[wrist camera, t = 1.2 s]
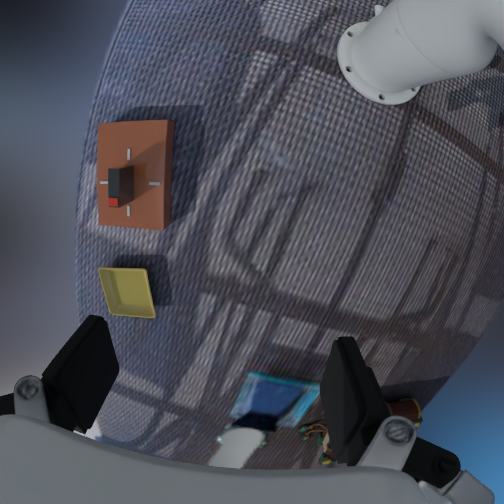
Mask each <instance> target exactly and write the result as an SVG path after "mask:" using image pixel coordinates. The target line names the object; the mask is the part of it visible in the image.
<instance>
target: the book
mask: <svg viewBox="0 0 504 504" xmlns="http://www.w3.org/2000/svg"><path fill="white" fill-rule="evenodd" d="M386 404H387V406H388V409H389V411H390V414H391V416H394V415H397V416H404V417H406V418H408V419H410V420H411V421H412V422H413V423H414V424H415V426H416V429H417V427H418V426H419V425H420V424H421V422H422V421H423V420H422V417H421V410H420V407H419V405H418V403H417V401H416V400H414V399H413V397H410V398H404V399H400V400H399V401H398V402H393V403H387V402H386ZM315 425H319V426H322V427H323V428H324V429H325V430H324V429H314V430H311V431H309V432H305V431H307V430H308V429H310V428H311V429H312V428H313V426H315ZM315 431H323V433H320V434H319V436H318V438H317V440H316V442H317V445H324V453H322V455H321V456H320V458H319V465H320V464H332V463H335V462H336V460H337V457H333V456H332V452H331V446H330V441H329V436H328V430H327V426H324V425H323V424H320V423H314V424H312V425H310V426H309V425H303V426H301V427H299V428H298V429H297V432H298V433H303V432H305V434H304V435H302V436H301V437H300V441H306V440H308V439H309V433H311V432H315Z"/></svg>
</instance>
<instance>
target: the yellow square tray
mask: <svg viewBox="0 0 504 504" xmlns="http://www.w3.org/2000/svg"><path fill="white" fill-rule="evenodd" d="M99 275H100V279H101V283H102V287H103V290H104V294H105V297H106V301H107V305H108V308H109V311H110V313H111V314H113V315H122V316H134V317H144V318H155V317H156V313H155V309H154V305H153V300H152V295H151V290H150V285H149V280H148V275H147V270H146V269H144V268H102V267H100V268H99Z"/></svg>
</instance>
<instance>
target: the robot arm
mask: <svg viewBox="0 0 504 504" xmlns="http://www.w3.org/2000/svg"><path fill="white" fill-rule="evenodd" d="M349 35H350V36H351V37H350V36H349ZM498 44H499V45H500V46H501V48H502V49H503V51H504V0H393V1H392V2H391V3H390V4H389V5H388V6H387V7H386V8H384V7H383V6H381V5H375V16H374V17H373V18H372V19H371V20H370V21H369V22H368V21H366V22H360V23H357V24H354V25H352V26H351V27H349V28H348V29H347V30H346V31H345V32H344V33H343V35H342V36H341V38H340V40H339V43H338V46H337V57H338V63H339V66H340V68H341V71H342V73H343V75H344V76H345V78H346V79H347V81H348V82H349V83H350V85H351V86H352V87H353V88H354V89H355V90H356V91H357V92H359V93H360V94H362V95H363V96H364V97H366V98H368V99H370V100H372V101H374V102H377V103H380V104H386V105H397V104H401V103H404V102H407V101H409V100H410V99H412V98H413V97H414V96H415V95H416V94H417V93H418V91H419V89H420V87H421V86H422V85H426V84H429V83H433V82H437V81H441V80H445V79H450V78H454V77H458V76H463V75H468V74H473V73H476V72H479V71H481V70H483V69H484V68H485V67H487V66H488V64H489V63H490V62H491V61H492V59H493V57H494V55H495V52H496V49H497V45H498ZM346 69H348V70H349V72H348V71H347V70H346ZM379 96H380V97H381V99H380V98H379ZM118 374H119V364H118V361H117V357H116V354H115V351H114V347H113V343H112V340H111V336H110V332H109V328H108V324H107V322H106V321H105V320H104V318H103V317H101V316H96V315H89V316H88V317H87V318H86V319H85V321H84V322H83V323H82V324H81V325H80V327H79V328H78V329H77V330H76V331H75V333H74V334H73V335H72V336H71V337H70V339H69V340H68V341H67V342H66V344H65V345H64V346H63V347H62V349H61V350H60V351H59V353H58V354H57V355H56V356H55V358H54V359H53V360H52V361H51V363H50V364H49V365H48V367H47V368H46V369H45V371H44V372H43V373H42V376H43V377H42V379H41V380H40V379H39V378H38V377H36V376H32V375H30V376H25V377H23V378H21V379H19V381H18V382H17V383H16V384H15V386H14V393H11V394H8V395H4V396H0V504H494V501H495V497H494V493H493V492H492V491H491V490H490V489H489V488H488V487H486V486H485V485H484V484H483V483H481V482H480V481H479V480H478V479H476V478H475V477H474V476H473V475H472V474H470V473H469V472H468V471H467V470H464V471H462V470H461V469H460V468H461V466H460V461H459V459H458V457H457V456H456V455H455V454H454V453H452V452H450V451H448V450H445V449H443V448H441V447H439V446H436V445H434V444H432V443H430V442H427V441H425V440H423V439H421V438H419V437H417V429H416V426H415V424H414V423H413V422H412V421H411V420H410V419H408V418H406V417H404V416H397V415H394V416H391V414H390V411H389V409H388V406H387V404H386V401H385V399H384V396H383V394H382V392H381V389H380V387H379V384H378V382H377V380H376V377H375V375H374V373H373V370H372V369H371V368H370V367H366V364H365V362H364V360H363V357H362V355H361V353H360V350H359V348H358V346H357V343H356V341H355V339H354V337H352V336H350V337H339V338H338V340H334V342H333V345H332V348H331V352H330V355H329V359H328V362H327V365H326V369H325V372H324V375H323V378H322V381H321V384H320V396H321V400H322V405H323V410H324V415H325V420H326V425H327V430H328V436H329V441H330V446H331V452H332V456H333V457H337V462H338V464H340V463H347V467H334V468H319V469H299V470H254V469H236V468H223V467H214V466H205V465H198V464H191V463H184V462H179V461H173V460H168V459H163V458H158V457H153V456H149V455H145V454H141V453H137V452H133V451H129V450H125V449H122V448H118V447H115V446H112V445H108V444H105V443H102V442H99V441H96V440H93V439H91V438H88V437H85V436H82V435H79V434H77V433H74V432H73V431H74V430H75V431H78V432H80V433H83V434H85V433H86V431H87V429H90V428H91V427H92V425H93V423H94V421H95V419H96V417H97V415H98V413H99V411H100V409H101V407H102V405H103V403H104V401H105V399H106V397H107V395H108V393H109V391H110V389H111V387H112V385H113V383H114V381H115V379H116V378H117V376H118Z"/></svg>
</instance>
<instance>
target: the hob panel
mask: <svg viewBox="0 0 504 504" xmlns="http://www.w3.org/2000/svg"><path fill="white" fill-rule="evenodd" d="M174 128H175V121H172V120H139V121H122V122H110V123H100V124H99V130H98V156H97V186H98V212H99V225H108V226H120V227H132V228H144V229H156V230H164V229H165V228H167V227H168V226H169V225H170V224H171V180H172V158H173V142H174ZM122 165H134V201H132V202H130V203H128V204H126V205H124V206H122V207H120V208H115V207H109V203H108V169H109V168H113V167H117V166H122Z"/></svg>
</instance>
